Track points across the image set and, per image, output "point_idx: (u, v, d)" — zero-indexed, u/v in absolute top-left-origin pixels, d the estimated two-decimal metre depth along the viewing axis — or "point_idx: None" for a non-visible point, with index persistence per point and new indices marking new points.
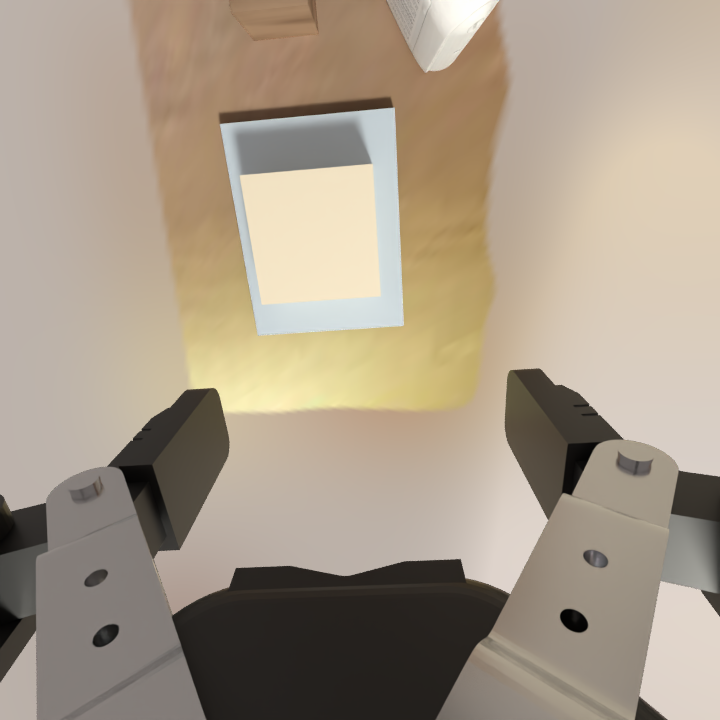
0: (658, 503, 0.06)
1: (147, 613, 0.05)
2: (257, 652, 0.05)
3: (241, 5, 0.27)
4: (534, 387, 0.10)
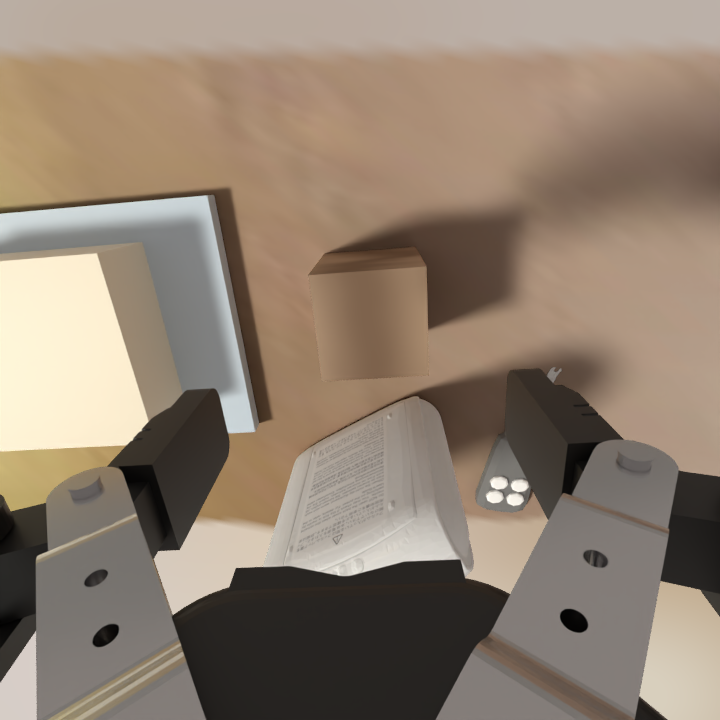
0: (658, 503, 0.06)
1: (148, 613, 0.05)
2: (257, 652, 0.05)
3: (317, 291, 0.18)
4: (534, 387, 0.10)
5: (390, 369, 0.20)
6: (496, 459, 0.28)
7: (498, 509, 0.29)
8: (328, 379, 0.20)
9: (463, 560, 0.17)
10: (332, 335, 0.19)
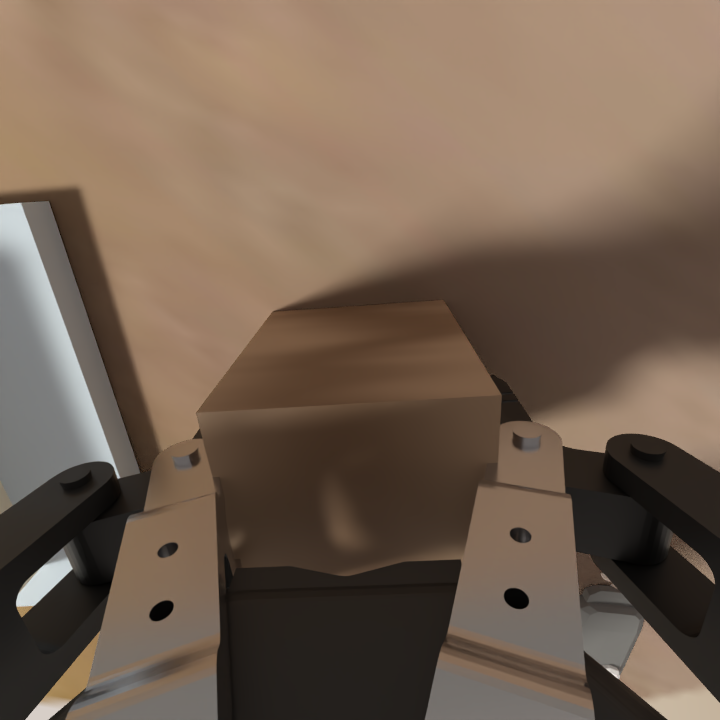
0: (533, 473, 0.07)
1: (201, 599, 0.05)
2: (257, 652, 0.05)
3: (222, 448, 0.07)
4: None
5: None
6: None
7: None
8: None
9: None
10: (268, 538, 0.08)
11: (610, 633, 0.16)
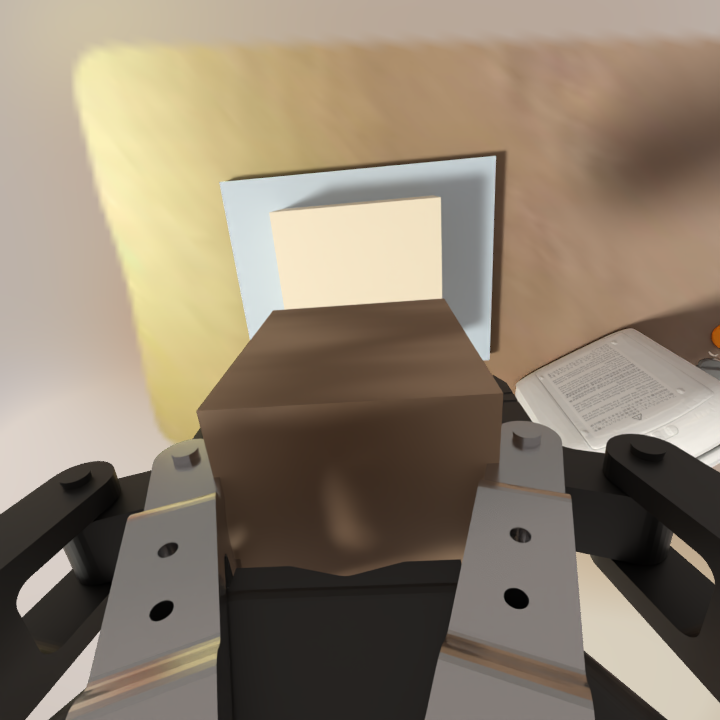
0: (533, 472, 0.07)
1: (201, 599, 0.05)
2: (257, 652, 0.05)
3: (222, 447, 0.07)
4: None
5: None
6: None
7: None
8: None
9: None
10: (268, 537, 0.08)
11: None
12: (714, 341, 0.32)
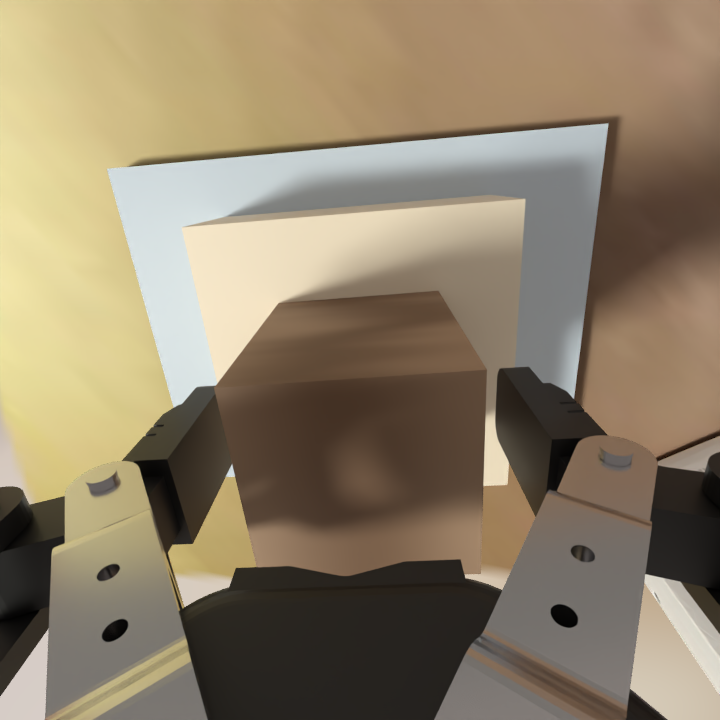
0: (635, 496, 0.06)
1: (156, 610, 0.05)
2: (257, 652, 0.05)
3: (237, 420, 0.08)
4: (522, 385, 0.10)
5: None
6: None
7: None
8: None
9: None
10: (277, 504, 0.09)
11: None
12: None
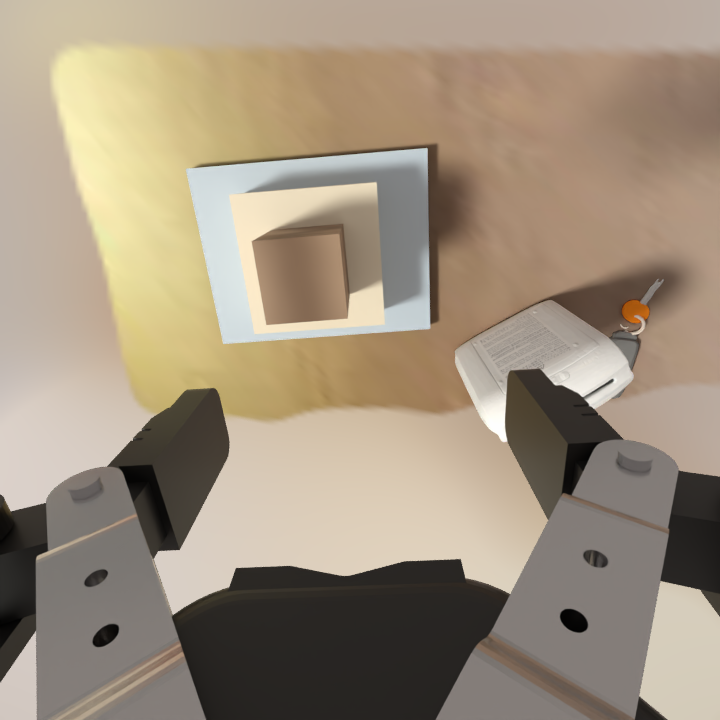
0: (658, 503, 0.06)
1: (148, 613, 0.05)
2: (257, 652, 0.05)
3: (258, 253, 0.25)
4: (534, 387, 0.10)
5: (318, 314, 0.26)
6: None
7: None
8: (271, 323, 0.26)
9: None
10: (272, 288, 0.25)
11: (624, 351, 0.38)
12: (624, 315, 0.37)
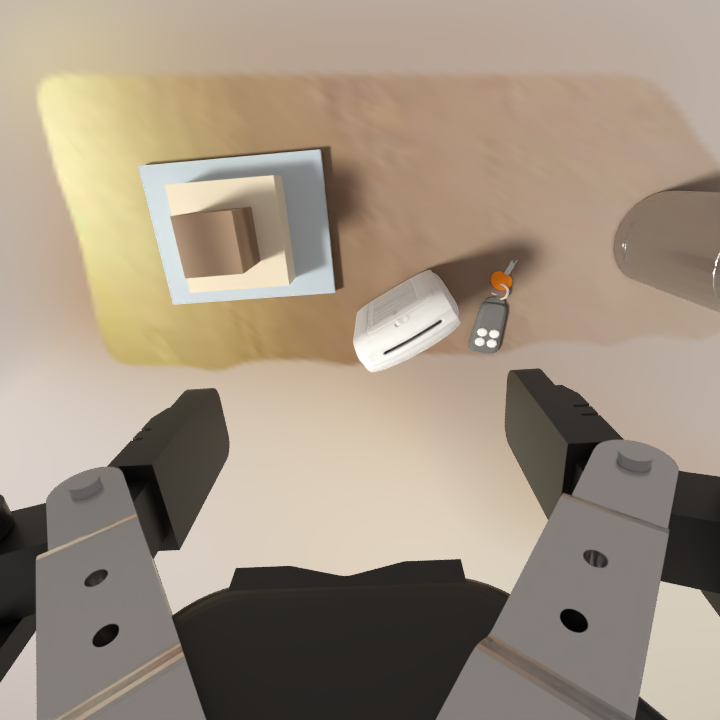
0: (658, 503, 0.06)
1: (148, 612, 0.05)
2: (257, 652, 0.05)
3: (175, 225, 0.34)
4: (534, 387, 0.10)
5: (221, 270, 0.36)
6: (480, 317, 0.48)
7: (482, 351, 0.49)
8: (188, 277, 0.36)
9: (455, 314, 0.37)
10: (187, 251, 0.35)
11: (494, 313, 0.47)
12: (492, 284, 0.47)
